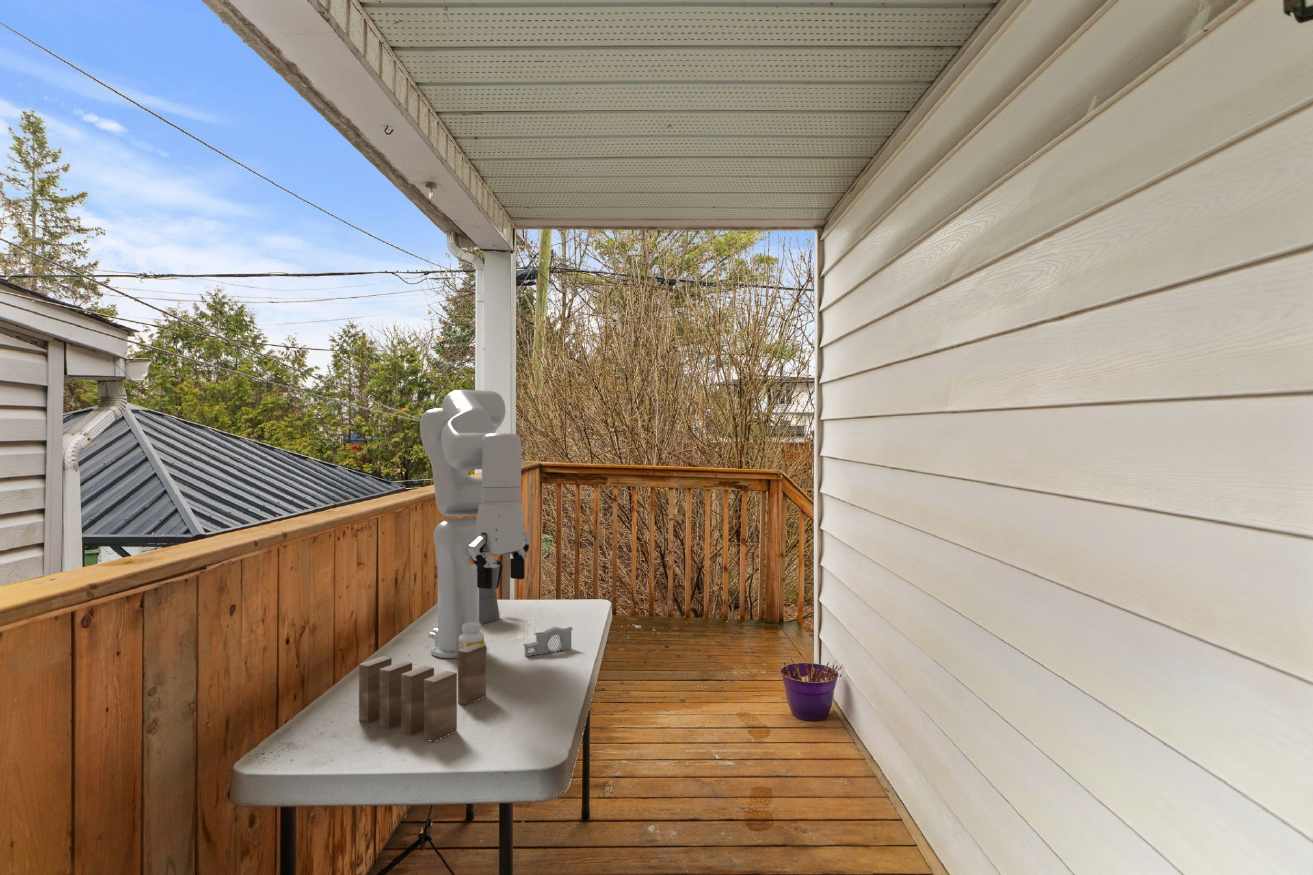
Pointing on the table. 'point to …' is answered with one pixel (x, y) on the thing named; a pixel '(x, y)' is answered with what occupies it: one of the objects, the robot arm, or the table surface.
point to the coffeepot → (490, 596)
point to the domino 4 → (440, 705)
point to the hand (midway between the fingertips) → (501, 583)
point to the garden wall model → (544, 639)
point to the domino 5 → (471, 673)
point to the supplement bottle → (471, 635)
